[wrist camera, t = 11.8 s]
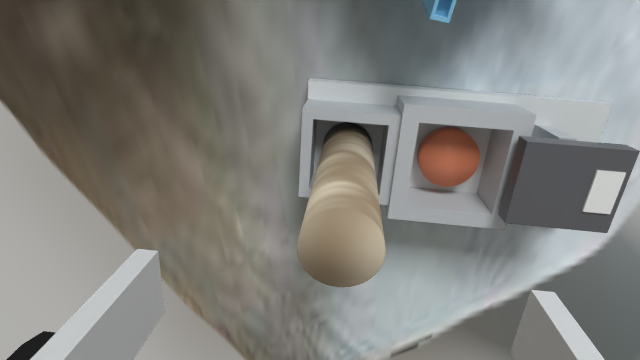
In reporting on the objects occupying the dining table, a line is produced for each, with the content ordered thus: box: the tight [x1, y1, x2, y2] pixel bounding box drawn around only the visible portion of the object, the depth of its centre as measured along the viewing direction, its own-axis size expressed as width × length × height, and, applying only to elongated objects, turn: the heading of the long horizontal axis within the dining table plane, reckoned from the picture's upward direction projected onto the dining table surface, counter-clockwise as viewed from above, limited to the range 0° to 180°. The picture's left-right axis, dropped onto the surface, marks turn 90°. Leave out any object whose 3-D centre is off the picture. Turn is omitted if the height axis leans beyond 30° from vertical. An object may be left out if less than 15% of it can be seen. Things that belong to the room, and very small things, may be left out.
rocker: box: [498, 136, 640, 233], centre depth 26 cm, size 7×6×2 cm
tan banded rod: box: [297, 122, 386, 287], centre depth 25 cm, size 4×4×16 cm
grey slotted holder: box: [298, 78, 612, 230], centre depth 30 cm, size 23×10×6 cm, turn 86°
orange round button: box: [417, 127, 480, 187], centre depth 31 cm, size 5×5×1 cm
